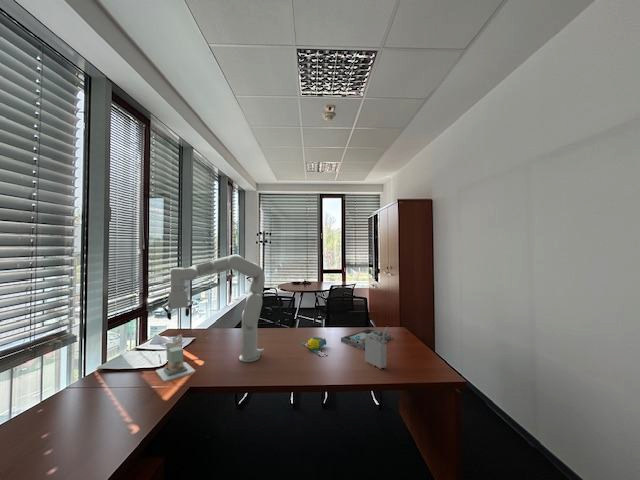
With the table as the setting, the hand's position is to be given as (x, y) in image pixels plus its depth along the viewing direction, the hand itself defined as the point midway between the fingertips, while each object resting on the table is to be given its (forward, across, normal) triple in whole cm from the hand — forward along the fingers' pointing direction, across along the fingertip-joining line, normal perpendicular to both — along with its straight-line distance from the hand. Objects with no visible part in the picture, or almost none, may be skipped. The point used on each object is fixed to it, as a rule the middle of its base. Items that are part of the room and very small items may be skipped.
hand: (178, 317), depth 168 cm
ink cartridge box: (+28, -1, -11) cm, 31 cm away
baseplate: (+28, +4, +8) cm, 30 cm away
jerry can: (+30, -85, +80) cm, 121 cm away
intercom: (+31, -118, +48) cm, 131 cm away
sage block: (+21, +4, +8) cm, 23 cm away
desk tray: (+30, -115, +50) cm, 129 cm away
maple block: (+27, +4, +8) cm, 29 cm away
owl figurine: (+30, -76, +36) cm, 90 cm away
